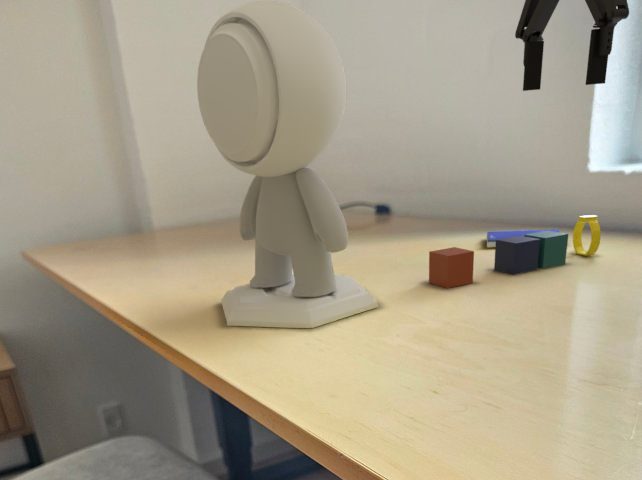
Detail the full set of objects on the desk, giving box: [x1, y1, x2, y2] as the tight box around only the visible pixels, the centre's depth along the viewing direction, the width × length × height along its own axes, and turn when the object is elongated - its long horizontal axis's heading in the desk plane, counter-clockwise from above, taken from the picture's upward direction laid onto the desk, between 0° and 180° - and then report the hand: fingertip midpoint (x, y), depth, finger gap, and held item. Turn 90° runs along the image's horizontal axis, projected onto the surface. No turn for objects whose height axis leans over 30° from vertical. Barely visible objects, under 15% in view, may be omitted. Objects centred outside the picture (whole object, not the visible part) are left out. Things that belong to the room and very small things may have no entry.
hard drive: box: [486, 228, 560, 249], centre depth 117 cm, size 2×8×12 cm
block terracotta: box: [428, 246, 475, 289], centre depth 94 cm, size 4×4×4 cm
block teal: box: [524, 231, 569, 270], centre depth 101 cm, size 4×4×4 cm
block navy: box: [493, 236, 540, 275], centre depth 99 cm, size 4×4×4 cm
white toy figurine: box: [196, 0, 379, 329], centre depth 82 cm, size 20×23×35 cm
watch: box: [572, 214, 602, 257], centre depth 104 cm, size 6×3×6 cm, turn 8°
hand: (561, 87), depth 97 cm, fingers open, 13 cm apart
